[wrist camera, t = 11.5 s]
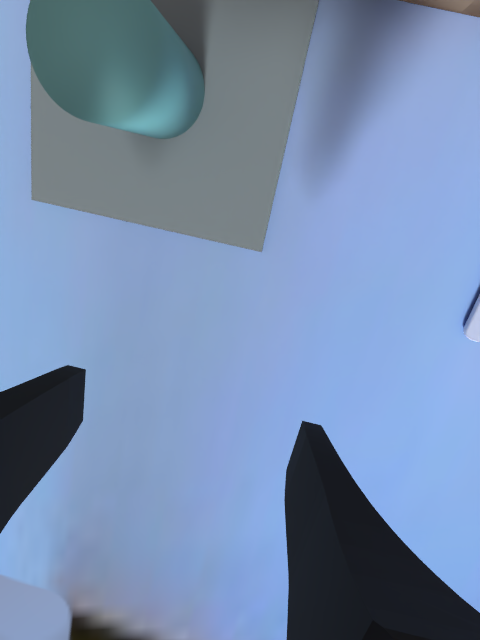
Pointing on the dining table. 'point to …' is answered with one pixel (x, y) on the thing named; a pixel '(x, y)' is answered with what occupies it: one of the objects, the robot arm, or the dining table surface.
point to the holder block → (452, 5)
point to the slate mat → (190, 130)
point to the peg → (115, 65)
